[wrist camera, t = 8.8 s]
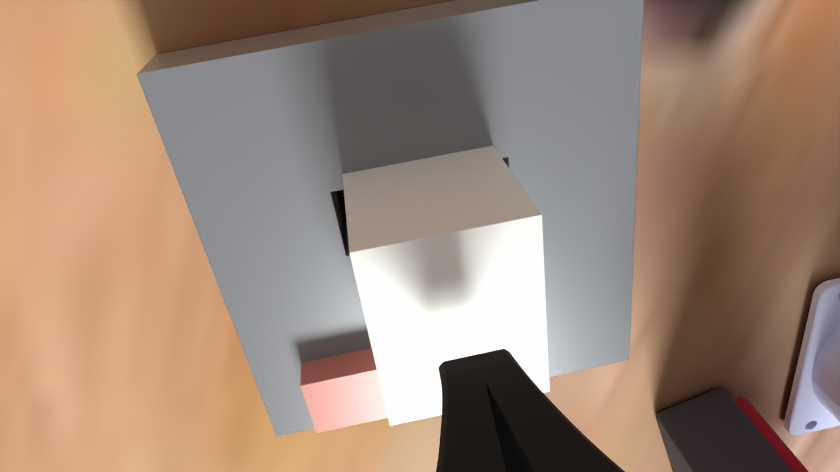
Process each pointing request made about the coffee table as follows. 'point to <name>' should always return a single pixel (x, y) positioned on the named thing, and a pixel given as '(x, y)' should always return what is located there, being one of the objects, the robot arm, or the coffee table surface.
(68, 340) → the coffee table surface
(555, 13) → the socket
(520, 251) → the white rectangular box
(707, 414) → the dark grey red box
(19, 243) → the coffee table surface
